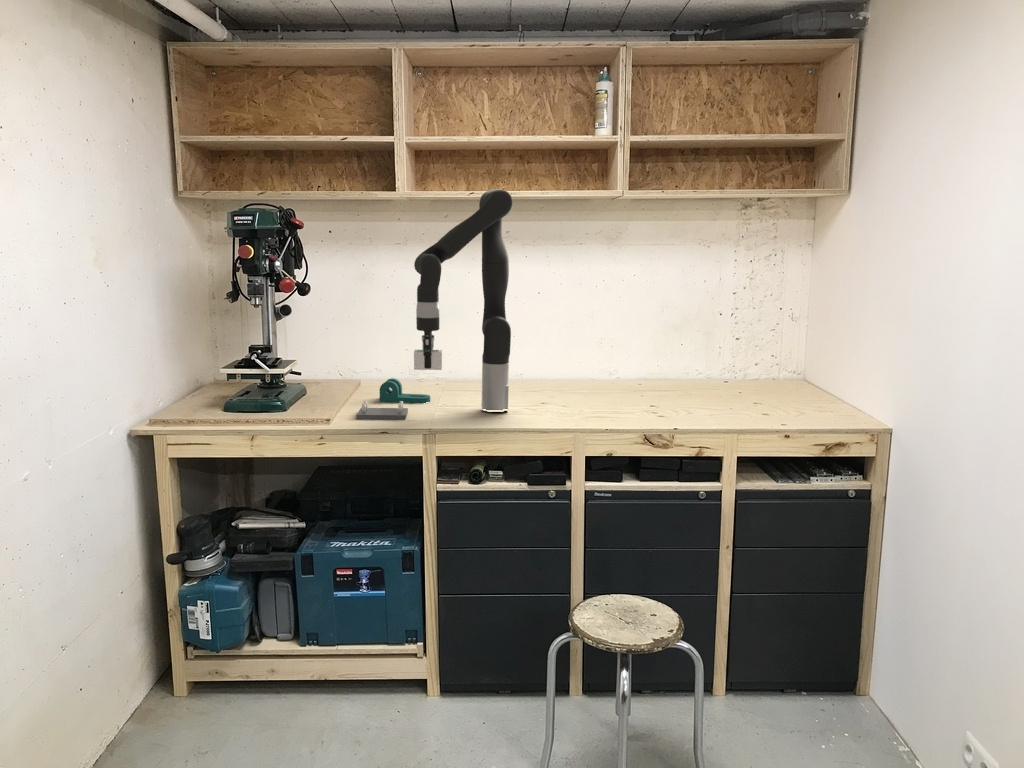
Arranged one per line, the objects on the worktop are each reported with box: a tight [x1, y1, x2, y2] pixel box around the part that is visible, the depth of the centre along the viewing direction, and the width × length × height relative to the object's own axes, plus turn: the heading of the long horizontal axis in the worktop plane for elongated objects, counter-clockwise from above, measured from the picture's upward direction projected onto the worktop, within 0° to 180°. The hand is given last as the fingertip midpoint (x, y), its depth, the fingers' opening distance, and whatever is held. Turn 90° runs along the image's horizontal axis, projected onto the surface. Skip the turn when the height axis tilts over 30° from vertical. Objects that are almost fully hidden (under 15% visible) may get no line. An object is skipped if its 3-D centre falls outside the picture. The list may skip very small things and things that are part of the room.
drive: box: [413, 349, 443, 371], centre depth 227 cm, size 9×4×6 cm, turn 94°
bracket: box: [379, 377, 431, 404], centre depth 252 cm, size 18×7×8 cm, turn 86°
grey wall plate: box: [356, 400, 409, 421], centre depth 230 cm, size 16×10×4 cm, turn 94°
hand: (428, 366), depth 228 cm, fingers closed on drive, 4 cm apart
